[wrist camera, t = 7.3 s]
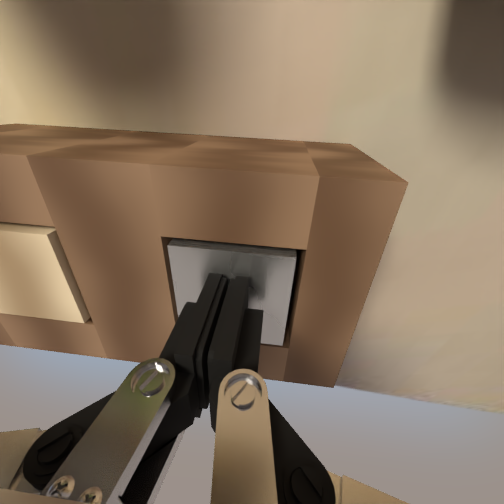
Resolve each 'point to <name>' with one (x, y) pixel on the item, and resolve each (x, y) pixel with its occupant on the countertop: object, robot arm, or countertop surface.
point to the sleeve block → (197, 232)
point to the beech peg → (37, 275)
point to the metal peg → (242, 264)
